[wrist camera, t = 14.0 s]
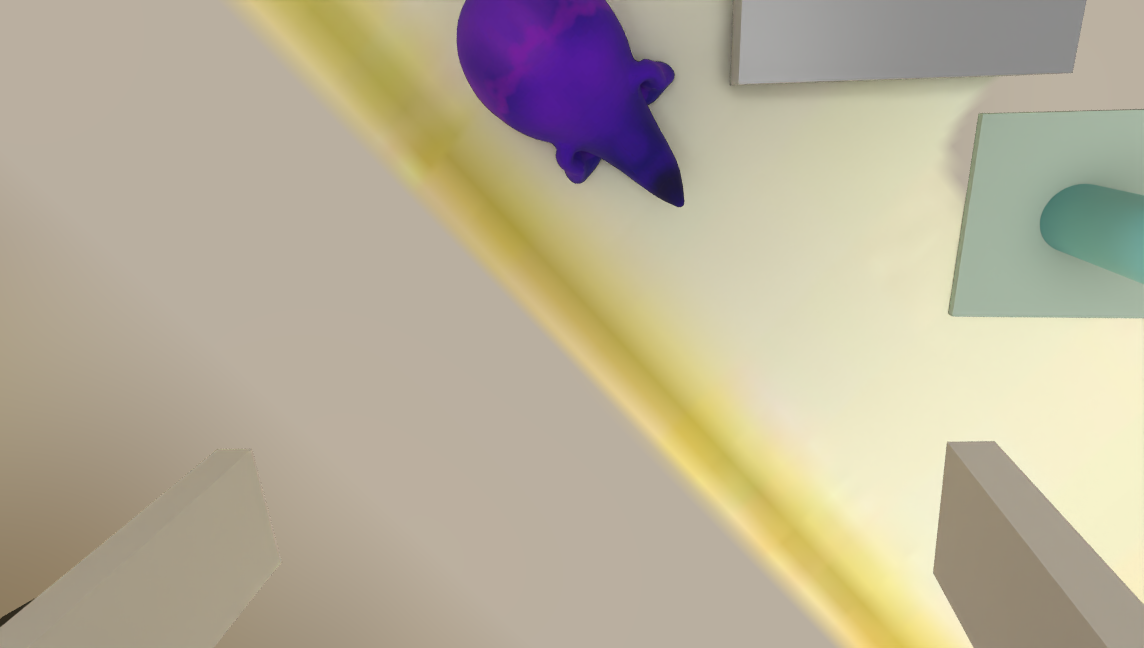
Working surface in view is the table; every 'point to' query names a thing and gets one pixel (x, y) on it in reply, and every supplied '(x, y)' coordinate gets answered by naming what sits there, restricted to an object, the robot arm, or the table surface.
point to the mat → (1015, 204)
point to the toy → (570, 86)
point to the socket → (901, 39)
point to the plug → (1098, 227)
